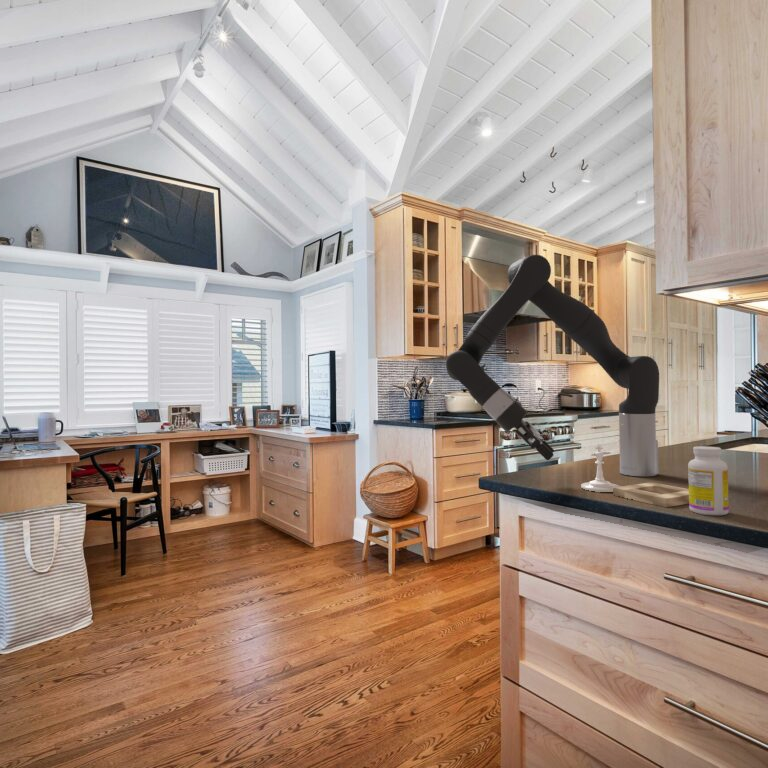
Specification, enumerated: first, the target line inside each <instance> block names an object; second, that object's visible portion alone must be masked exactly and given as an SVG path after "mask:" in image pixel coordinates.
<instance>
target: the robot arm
mask: <svg viewBox="0 0 768 768" xmlns="http://www.w3.org/2000/svg"><path fill="white" fill-rule="evenodd" d="M551 274H552V267H551V264H550V262H549V260H548V259H547V257H545V256H543V255H540V254H531V255H527V256H524V257H522V258H520V259H517V260H516V261H514V262H513V263H512V264H511V265H509V267H508V270H507V275H506V276H507V280H508V283H509V285H508V287H507V288H506V290H505V291H504V292H503V293H502V294H501V296H499V298H498V299H497V300H496V301H495V302H494V303H493V304H492V305H491V306H490V307H488V308H487V310H485V311H484V312H483V314H481V316H480V317H479V318H478V319H477V321H476V322H475V323H474V325H473V326H472V327H471V329H470V330H469V332H468V333H467V335H465V338H464V340H463V343H462V344H461V345H460V347H459V349H458V350H454V351H452V352H451V353H450V354H449V355H448V356H447V358H446V360H445V361H446V362H445V366H446V372H447V374H448V376H449V377H450V378H451V380H454V381H458V382H459V383H460V384H461V385H462V386H463V387H464V388H466V390H467V391H468V393H469V395H470V396H471V397H472V398H473V399H474V400H475V401H476V402H477V404H479V405H480V406H481V407H482V408H483V410H484V411H485V412H486V413H487V414H488V415H489V416H490V417H491V419H492V420H494V421H495V422H496V423H497V425H499V427H501V429H502V430H504V431H505V432H507V433H509V432H510V431H511V430H512V429H513V428H515V432H516V434H517V435H518V437H519V438H521V439H522V440H523V441H524V442H525V443H526V444H527V445H529V446H530V449H532V450H534V451H537V452H538V453H539V454H540V455H541V456H542V457H543V458H544V459H545V460H546V461H550V459H552V458H553V457H554V452H555V450H554V448H553V447H552V446H551V445H550V444H549V443H548V442H547V441H546V440H545V439H544V437H543V436H542V434H541V433H540V432H539V430H537V429H536V428H535V426H533V424H532V423H531V422H529V421H527V420H525V421H524V420H523V419H524V418H525V416H527V414H528V411H527V409H525V407H524V406H522V405H521V404H520V403H519V402H518V401H517V400H516V399H515V398H514V397H513V396H512V395H511V394H510V393H509V392H507V391H506V390H504V389H503V388H502V387H501V386H500V385H499V383H497V382H496V381H495V380H494V379H493V378H492V377H490V376H489V374H487V372H486V371H485V370H484V368H483V367H482V366H481V365H480V364H479V363H480V362H481V360H482V359H483V357H484V356H485V354H486V353H487V352H488V350H489V349H490V348H491V347H492V345H494V343H495V342H496V341H497V340H498V338H499V336H500V335H501V333H502V332H503V331H504V330H505V328H506V327H507V326H508V324H509V323H510V322H511V320H513V318H514V317H515V315H516V314H517V313H518V312H519V311H520V310H521V309H522V307H524V306H525V305H526V303H528V301H529V302H530V303H532V304H533V305H534V306H535V307H537V308H538V309H540V311H542V312H543V314H544V315H545V316H547V318H549V319H550V320H551V321H552V322H553V323H554V324H555V325H556V326H557V327H558V328H559V329H560V330H561V331H563V333H565V334H566V335H567V336H568V338H570V339H571V340H572V341H573V342H574V343H575V344H577V346H579V348H580V347H581V349H582V350H583V351H584V352H585V353H587V355H588V356H590V357H591V358H592V359H593V360H595V361H596V363H598V364H599V366H600V367H601V368H602V369H603V370H604V371H605V373H606V374H607V375H608V376H609V377H610V378H611V379H612V381H613V382H615V384H616V385H618V386H619V387H621V388H623V389H627V390H628V394H627V396H626V399H624V400H623V401H621V402H619V404H618V425H619V426H618V428H619V429H618V431H619V433H618V434H619V435H618V436H619V474H621V475H624V476H631V477H654V476H655V477H656V476H657V475H659V442H658V440H657V436H656V435H657V430H656V429H657V424H656V422H657V421H656V408H657V406H658V403H659V397H660V396H659V395H660V394H659V393H660V369H659V366H658V364H657V362H656V360H655V359H654V358H653V357H651V356H647V355H637V356H629V355H628V354H626V353H625V352H624V351H623V350H621V349H620V348H619V347H618V346H617V345H616V344H615V343H614V342H613V340H612V339H611V336H610V333H609V330H608V328H607V326H606V323H605V322H604V321H603V319H602V318H601V317H600V316H599V315H598V314H597V313H596V312H595V311H594V310H592V309H591V307H589V306H588V305H587V304H585V303H584V302H582V301H580V300H578V299H577V298H574V297H572V296H570V295H569V294H566V293H564V292H563V291H561V290H559V289H558V288H557V287H555V286H554V285H553V284H552V283H551V282H549V281H550V280H549V279H551V278H550V277H551Z"/></svg>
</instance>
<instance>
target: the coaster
mask: <svg viewBox="0 0 768 768" xmlns="http://www.w3.org/2000/svg"><path fill="white" fill-rule="evenodd" d="M589 482H590V481H588V482H582V483H581V485H580V488H581V489H582V488H583V489H585V490H584V491H586V490H589V491H588V492H591V491H595V492H594V493H600V492H613V488H614V487H621V485H619V484H615V483H611V482H610V483H611V484H610V485H611V487H606V488H601V487H593V486H590V485H589V484H590V483H589ZM583 489H582V490H583Z"/></svg>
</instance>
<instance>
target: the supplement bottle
mask: <svg viewBox="0 0 768 768" xmlns="http://www.w3.org/2000/svg"><path fill="white" fill-rule="evenodd" d="M692 452H693V454H694V459H693V458H692V459H691V460H689V462H688V464H687V466H688V468H687V469H688V470H687V471H688V472H687V473H688V476H687V477H688V489H689V503H688V504H689V506H688V507H689V510H690V511H691V512H693V513H696V514H699V515H705V516H712V517H713V516H718V517H719V516H726V515H727V514H729V512H730V511H729V510H730V504H729V502H730V501H729V499H730V498H729V473H728V472H729V470H728V469H729V467H728V464H727V463H726V462H725V461H724V460H722V459H721V456H722V448H721V447H719V446H718V447H717V446H702V445H701V446H693V451H692Z"/></svg>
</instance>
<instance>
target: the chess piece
mask: <svg viewBox="0 0 768 768" xmlns="http://www.w3.org/2000/svg"><path fill="white" fill-rule="evenodd" d="M603 449H604V447H602V446H601V444H598V445H597V446H595V450H597V451H595V453H594V455H595V458H596V461H595V462H594V464H596V465H597V466H596V467H597V468H596V475H595V476H596V477H595V478H594V480H590V481H588V482H589V483H590V484H589V485H590V486H593V487H601V488H606V487H611V485H610V484H611V482H610V481H608V480H606V479H605V477H604V473H603V465H602V464H605V462H604V461H603V457H604V454H605V453H604V452H603V451H601V450H603Z"/></svg>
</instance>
